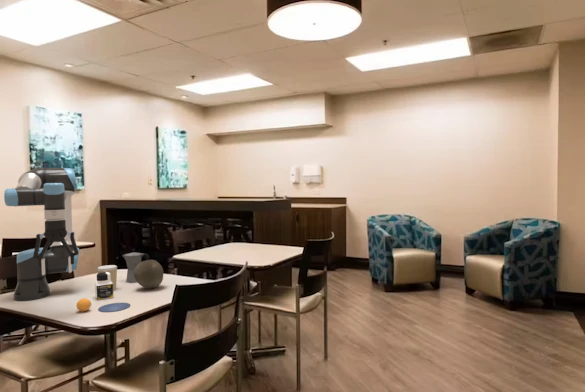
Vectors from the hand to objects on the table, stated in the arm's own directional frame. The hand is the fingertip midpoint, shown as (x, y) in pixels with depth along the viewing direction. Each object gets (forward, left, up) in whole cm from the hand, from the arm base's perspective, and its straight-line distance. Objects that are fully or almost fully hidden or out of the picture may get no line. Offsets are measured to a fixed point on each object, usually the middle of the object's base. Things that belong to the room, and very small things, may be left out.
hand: (57, 273), depth 166 cm
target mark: (+22, 0, -17) cm, 28 cm away
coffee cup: (+18, +35, -18) cm, 43 cm away
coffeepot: (+32, +49, -18) cm, 61 cm away
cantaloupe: (+38, +27, -18) cm, 49 cm away
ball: (+10, 0, -15) cm, 18 cm away
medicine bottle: (+17, +20, -18) cm, 31 cm away
